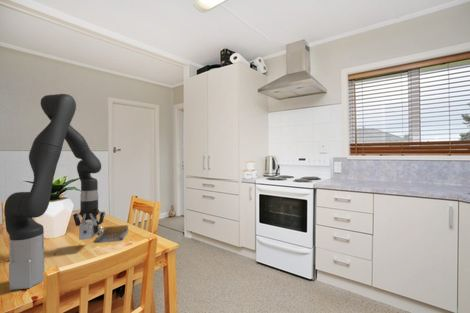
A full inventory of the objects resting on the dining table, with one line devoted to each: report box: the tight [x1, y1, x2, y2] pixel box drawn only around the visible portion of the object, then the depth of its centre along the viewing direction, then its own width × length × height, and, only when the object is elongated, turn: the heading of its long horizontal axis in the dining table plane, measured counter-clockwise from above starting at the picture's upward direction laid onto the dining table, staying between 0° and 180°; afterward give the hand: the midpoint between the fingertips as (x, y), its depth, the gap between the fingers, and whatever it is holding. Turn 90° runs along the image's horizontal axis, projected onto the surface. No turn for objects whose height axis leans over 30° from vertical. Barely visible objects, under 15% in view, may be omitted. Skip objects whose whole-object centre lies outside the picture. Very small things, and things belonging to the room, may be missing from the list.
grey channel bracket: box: [94, 224, 129, 244], centre depth 127 cm, size 14×13×4 cm
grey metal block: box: [78, 218, 100, 241], centre depth 113 cm, size 10×5×7 cm, turn 13°
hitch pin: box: [98, 226, 104, 235], centre depth 134 cm, size 7×3×3 cm, turn 33°
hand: (89, 233), depth 113 cm, fingers closed on grey metal block, 5 cm apart
